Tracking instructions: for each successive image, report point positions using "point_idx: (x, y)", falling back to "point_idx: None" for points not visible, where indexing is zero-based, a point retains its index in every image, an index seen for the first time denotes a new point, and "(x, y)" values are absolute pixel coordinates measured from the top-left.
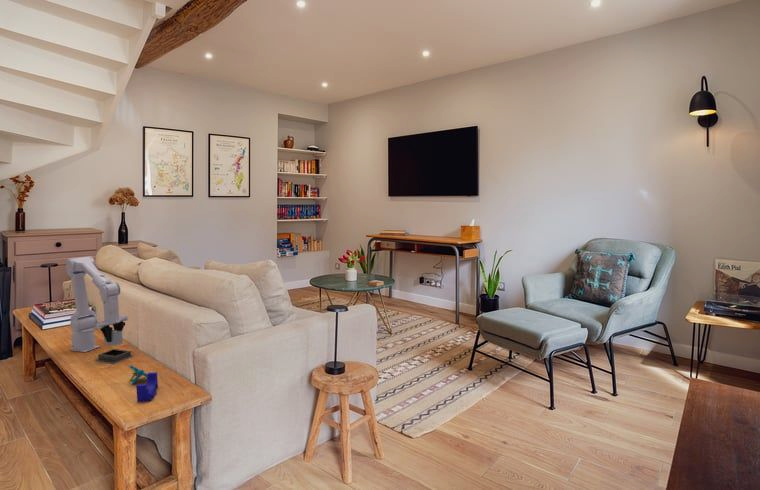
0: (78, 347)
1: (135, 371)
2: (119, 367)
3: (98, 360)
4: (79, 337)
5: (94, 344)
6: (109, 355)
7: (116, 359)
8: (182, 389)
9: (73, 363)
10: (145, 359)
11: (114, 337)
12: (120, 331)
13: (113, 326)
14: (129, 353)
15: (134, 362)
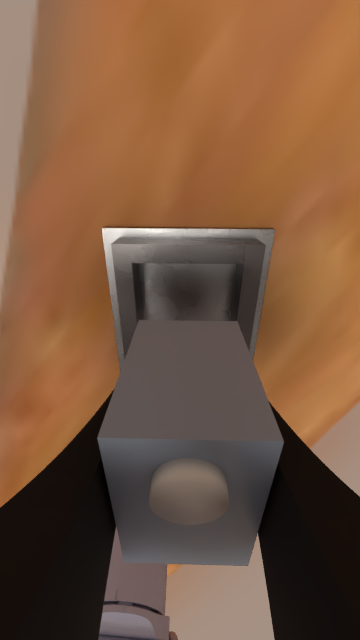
0: None
1: None
2: (338, 110)
3: (252, 359)
4: (165, 580)
5: None
6: (238, 320)
7: (249, 240)
8: None
9: (296, 431)
10: (116, 22)
11: (253, 384)
12: (125, 437)
13: (98, 624)
14: (127, 240)
15: (210, 73)
